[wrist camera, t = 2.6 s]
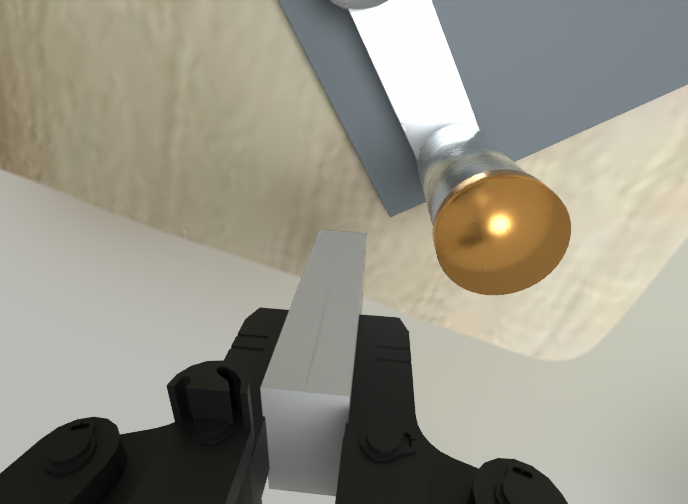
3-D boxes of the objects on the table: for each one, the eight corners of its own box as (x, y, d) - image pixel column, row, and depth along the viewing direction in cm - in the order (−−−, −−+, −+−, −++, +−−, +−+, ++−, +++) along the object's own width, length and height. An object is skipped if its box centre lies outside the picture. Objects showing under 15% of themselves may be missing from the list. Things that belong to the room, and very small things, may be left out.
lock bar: (287, -79, 16) (166, -233, 7) (390, -155, 14) (400, -461, 6) (419, 200, 20) (446, 316, 12) (504, 162, 19) (605, 261, 10)
